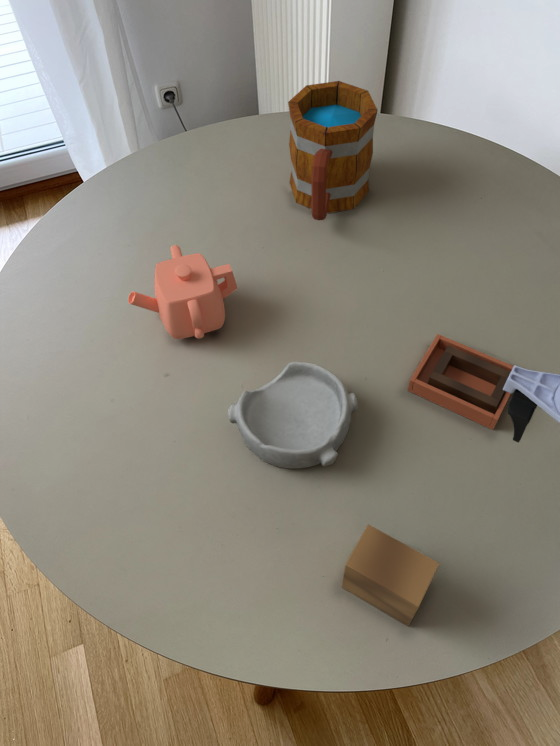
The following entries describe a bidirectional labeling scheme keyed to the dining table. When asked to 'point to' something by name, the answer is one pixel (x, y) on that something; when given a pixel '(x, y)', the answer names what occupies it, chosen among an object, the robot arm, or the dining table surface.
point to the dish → (295, 417)
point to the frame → (474, 368)
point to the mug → (331, 146)
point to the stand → (388, 574)
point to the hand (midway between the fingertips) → (554, 450)
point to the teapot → (188, 294)
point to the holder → (449, 401)
